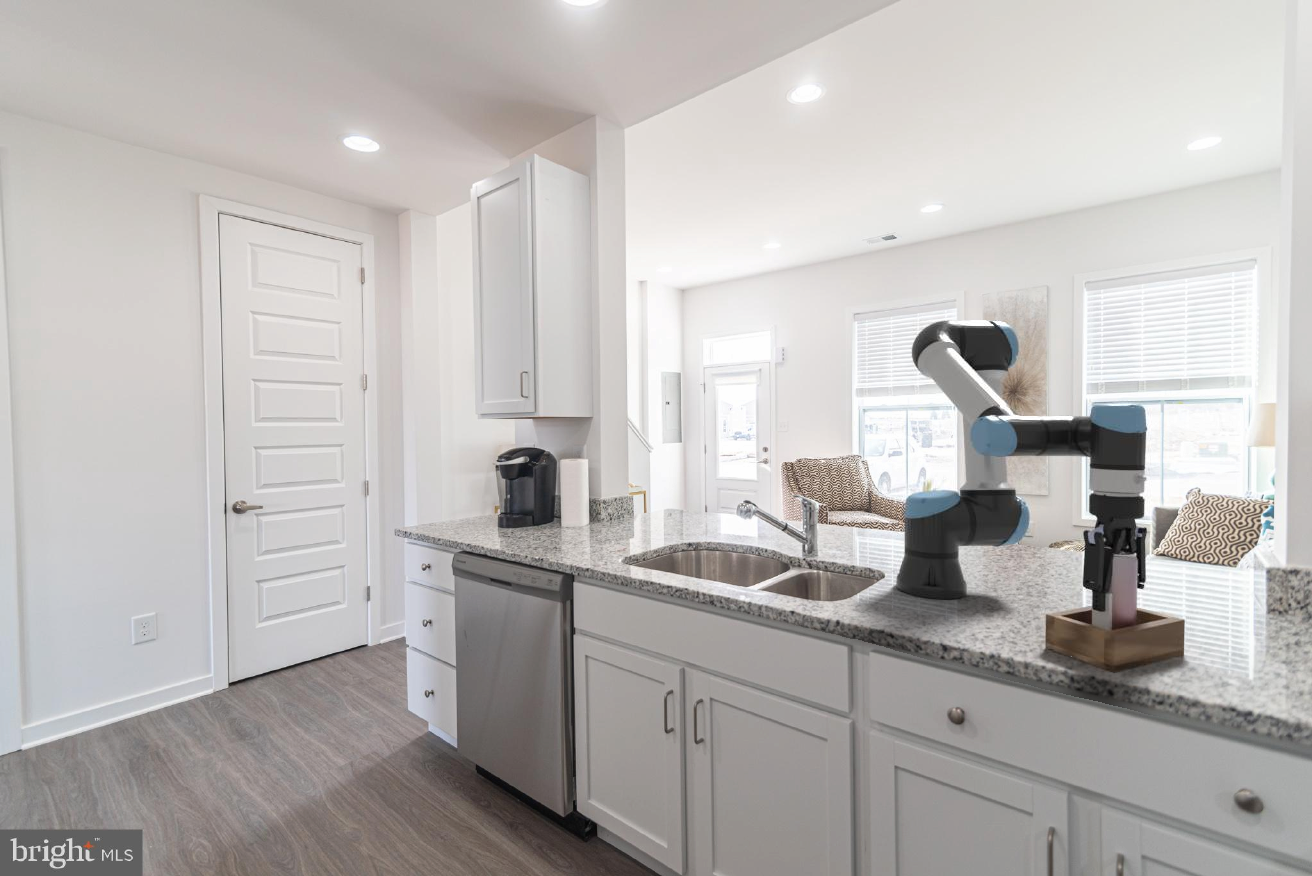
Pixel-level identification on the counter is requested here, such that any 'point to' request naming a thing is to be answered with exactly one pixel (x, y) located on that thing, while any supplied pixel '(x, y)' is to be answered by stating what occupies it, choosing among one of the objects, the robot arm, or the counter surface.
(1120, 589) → the beverage can
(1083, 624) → the tray
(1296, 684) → the counter surface
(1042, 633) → the counter surface
